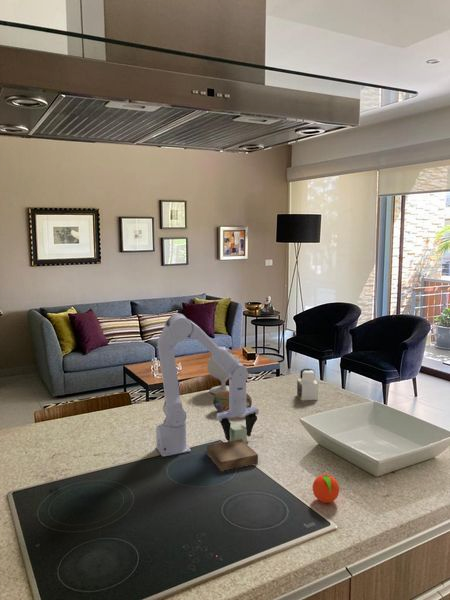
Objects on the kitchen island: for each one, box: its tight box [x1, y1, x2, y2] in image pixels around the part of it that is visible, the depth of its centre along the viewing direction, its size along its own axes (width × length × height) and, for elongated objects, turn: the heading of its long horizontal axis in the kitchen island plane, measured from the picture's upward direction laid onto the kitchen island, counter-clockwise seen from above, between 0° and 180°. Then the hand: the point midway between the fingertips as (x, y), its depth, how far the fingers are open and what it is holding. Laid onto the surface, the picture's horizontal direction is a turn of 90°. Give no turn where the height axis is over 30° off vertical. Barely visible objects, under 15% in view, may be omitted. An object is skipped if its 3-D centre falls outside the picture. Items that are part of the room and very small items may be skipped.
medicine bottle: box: [296, 368, 319, 402], centre depth 208 cm, size 7×7×12 cm
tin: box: [212, 391, 253, 413], centre depth 193 cm, size 15×3×8 cm, turn 75°
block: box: [229, 423, 248, 444], centre depth 167 cm, size 4×4×5 cm
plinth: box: [206, 439, 259, 472], centre depth 154 cm, size 12×12×3 cm
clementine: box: [312, 473, 340, 504], centre depth 130 cm, size 8×7×7 cm
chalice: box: [206, 355, 238, 395], centre depth 217 cm, size 14×14×15 cm
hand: (238, 437), depth 167 cm, fingers open, 7 cm apart
